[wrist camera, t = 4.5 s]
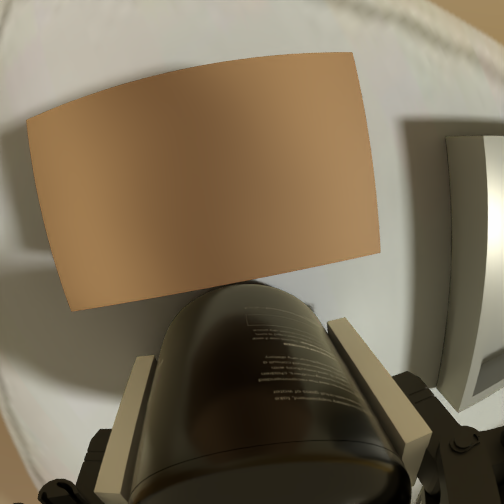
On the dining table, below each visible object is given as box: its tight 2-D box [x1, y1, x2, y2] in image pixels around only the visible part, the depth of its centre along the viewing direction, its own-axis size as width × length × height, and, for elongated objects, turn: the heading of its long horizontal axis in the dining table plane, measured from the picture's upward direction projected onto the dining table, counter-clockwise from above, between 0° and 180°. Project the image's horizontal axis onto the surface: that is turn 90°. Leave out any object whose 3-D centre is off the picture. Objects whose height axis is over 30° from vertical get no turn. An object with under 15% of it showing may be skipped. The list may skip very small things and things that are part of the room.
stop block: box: [26, 52, 381, 312], centre depth 9 cm, size 8×5×4 cm, turn 100°
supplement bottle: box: [128, 284, 412, 504], centre depth 8 cm, size 7×7×12 cm
